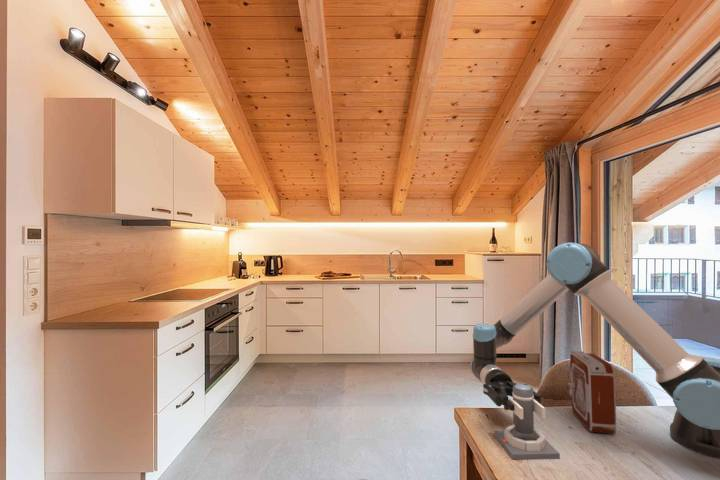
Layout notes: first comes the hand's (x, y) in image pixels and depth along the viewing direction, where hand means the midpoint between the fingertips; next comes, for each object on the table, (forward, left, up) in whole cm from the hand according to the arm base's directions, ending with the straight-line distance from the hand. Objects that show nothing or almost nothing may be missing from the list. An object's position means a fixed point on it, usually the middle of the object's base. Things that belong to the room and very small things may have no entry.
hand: (532, 413), depth 91 cm
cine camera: (-27, -19, -11) cm, 35 cm away
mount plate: (0, -5, -11) cm, 12 cm away
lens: (0, -5, -6) cm, 8 cm away
